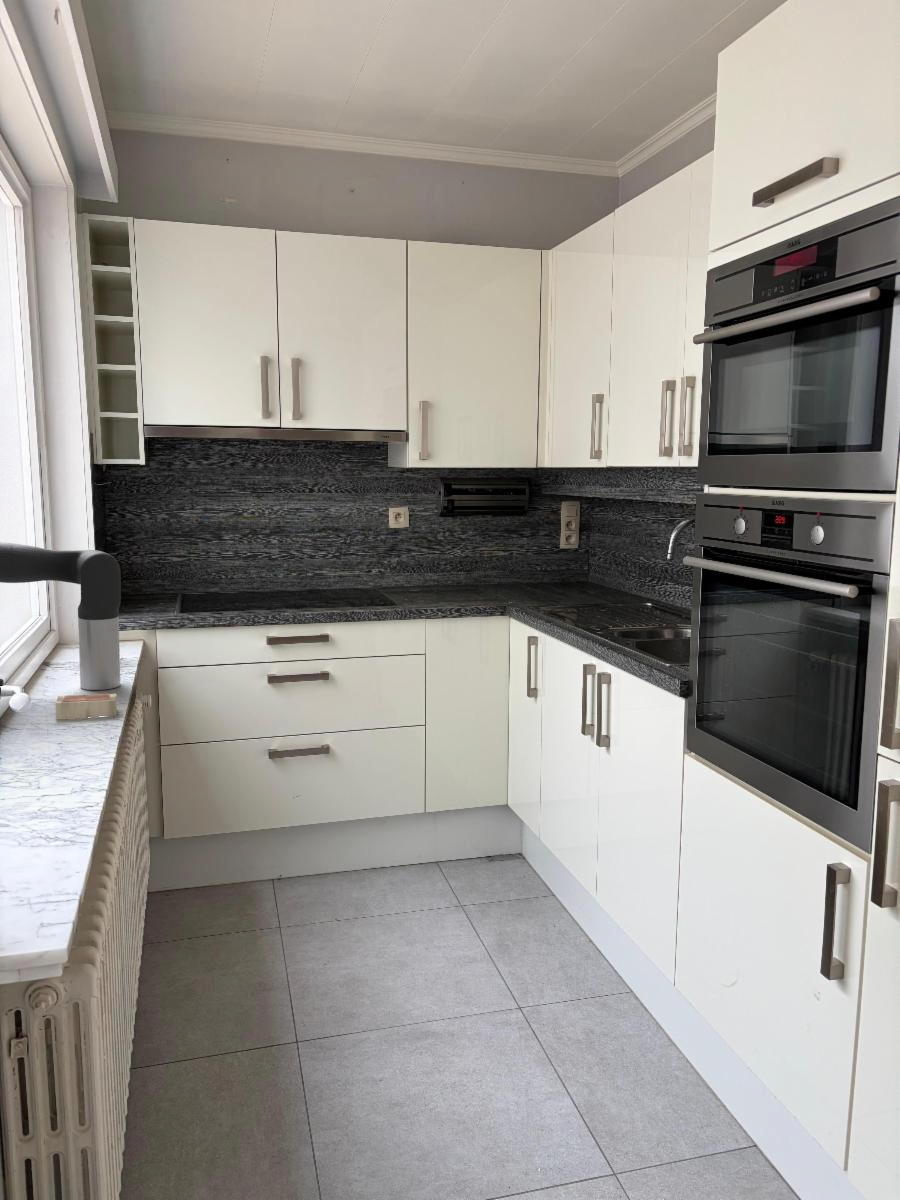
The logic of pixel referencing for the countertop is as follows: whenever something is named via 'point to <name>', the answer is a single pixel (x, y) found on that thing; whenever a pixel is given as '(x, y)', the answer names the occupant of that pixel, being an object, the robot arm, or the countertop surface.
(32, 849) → the countertop surface
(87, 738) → the countertop surface
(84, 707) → the birch block
